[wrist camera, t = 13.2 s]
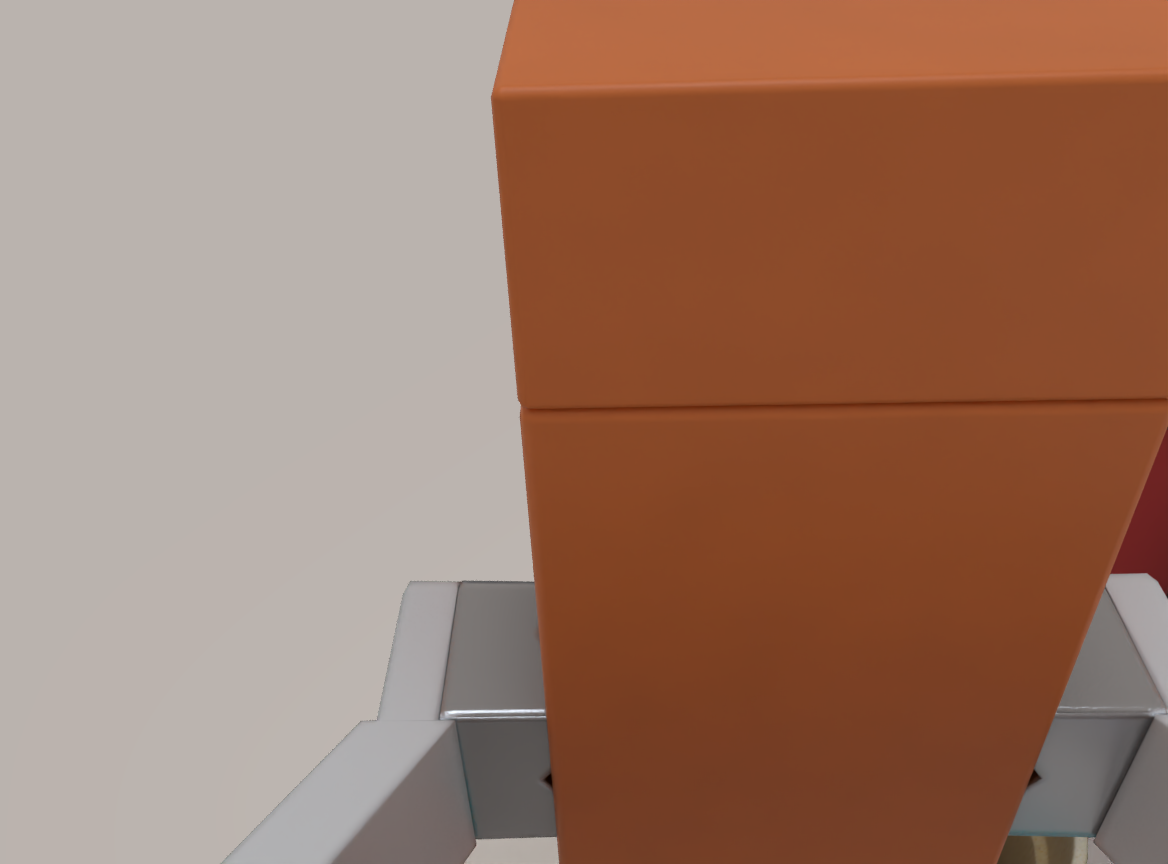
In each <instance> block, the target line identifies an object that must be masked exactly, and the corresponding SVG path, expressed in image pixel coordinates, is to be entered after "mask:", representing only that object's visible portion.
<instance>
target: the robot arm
mask: <svg viewBox="0 0 1168 864" xmlns="http://www.w3.org/2000/svg"><path fill="white" fill-rule="evenodd" d="M1008 835H1009V836H1052V837H1095V840H1094V843H1095V844H1096V845H1097V846H1098V847H1099V848H1100V849H1101V850H1102V851H1103V853H1104V854H1105V855H1106V856H1107V857H1108V858H1109V859H1110V860H1111V861H1112V862H1113V863H1114V864H1168V598H1167V597H1166V595H1165V593H1164V592H1163V590H1162V588H1161V586H1160V585H1159V583H1158V581H1156V580H1155V579H1154V578H1152V577H1151V576H1150V575H1148V574H1147V573H1138V574H1110V576H1109V578H1108V581H1107V583H1106V586H1105V588H1104V591H1103V593H1102V596H1101V599H1100V601H1099V604H1098V606H1097V609H1096V611H1095V614H1094V616H1093V619H1092V622H1091V624H1090V627H1089V629H1088V632H1087V634H1086V637H1085V639H1084V642H1083V645H1082V647H1081V650H1080V652H1079V655H1078V657H1077V660H1076V662H1075V665H1074V668H1073V670H1072V673H1071V675H1070V678H1069V680H1068V683H1067V685H1066V688H1065V691H1064V693H1063V696H1062V698H1061V701H1060V703H1059V706H1058V708H1057V711H1056V714H1055V716H1054V719H1053V721H1052V724H1051V726H1050V729H1049V731H1048V734H1047V737H1046V739H1045V742H1044V744H1043V747H1042V749H1041V752H1040V754H1039V757H1038V760H1037V762H1036V765H1035V767H1034V770H1033V772H1032V775H1031V777H1030V780H1029V783H1028V785H1027V788H1026V790H1025V793H1024V795H1023V798H1022V800H1021V803H1020V806H1019V808H1018V811H1017V813H1016V816H1015V818H1014V821H1013V823H1012V826H1011V829H1010V831H1009V834H1008ZM534 837H557V831H556V820H555V808H554V797H553V786H552V774H551V763H550V752H549V740H548V729H547V718H546V706H545V695H544V684H543V672H542V661H541V650H540V639H539V627H538V616H537V605H536V593H535V582H518V581H462V582H451V581H447V582H446V581H410V582H409V584H408V586H407V588H406V590H405V591H404V593H403V597H402V601H401V606H400V611H399V616H398V620H397V625H396V630H395V635H394V640H393V644H392V649H391V654H390V659H389V663H388V668H387V673H386V678H385V683H384V687H383V692H382V697H381V702H380V707H379V711H378V716H377V720H372V721H371V720H369V721H360V722H359V723H358V725H356V727H354V728H353V729H352V730H351V732H350V733H349V734H348V735H347V736H346V737H345V738H344V739H343V740H342V741H341V742H340V743H339V744H338V745H337V746H336V747H335V748H334V749H333V750H332V751H331V752H330V753H329V754H328V755H327V756H326V757H325V758H324V759H323V760H322V761H321V762H320V763H319V764H318V765H317V766H316V767H315V768H314V769H313V770H312V771H311V772H310V773H309V774H308V775H307V776H306V777H305V778H304V779H303V780H302V781H301V782H300V783H299V785H297V786H296V787H295V789H293V790H292V791H291V793H289V794H288V795H287V797H286V798H285V799H284V800H283V801H282V802H281V803H280V804H279V805H278V806H277V807H276V808H275V809H274V810H273V811H272V812H271V813H270V814H269V815H268V816H267V817H266V818H265V819H264V820H263V821H262V822H261V823H260V824H259V825H258V826H257V827H256V828H255V829H254V830H253V831H252V832H251V833H250V834H249V835H248V836H247V837H246V838H245V839H244V840H243V841H242V842H241V843H240V844H239V845H238V846H237V847H236V848H235V849H234V850H233V851H232V853H230V854H229V855H228V856H227V857H226V859H225V860H224V861H223V862H222V863H221V864H464V862H465V861H466V859H467V858H468V857H469V855H470V854H471V852H472V851H473V849H474V848H475V846H476V840H475V839H502V838H534Z"/></svg>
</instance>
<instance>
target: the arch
mask: <svg viewBox="0 0 1168 864" xmlns="http://www.w3.org/2000/svg"><path fill="white" fill-rule="evenodd" d="M491 101H492V114H493V125H494V135H495V147H496V159H497V170H498V181H499V193H500V203H501V215H502V226H503V238H504V249H505V260H506V270H507V282H508V294H509V305H510V316H511V327H512V338H513V350H514V362H515V372H516V383H517V395H518V400H519V402H520V404H521V410H520V423H521V435H522V446H523V457H524V469H525V479H526V491H527V503H528V514H529V525H530V537H531V547H532V559H533V570H534V580H535V581H534V582H535V593H536V605H537V616H538V627H539V639H540V650H541V661H542V672H543V684H544V695H545V706H546V718H547V729H548V740H549V752H550V763H551V774H552V786H553V797H554V808H555V820H556V831H557V842H558V854H559V864H997V862H998V859H999V857H1000V854H1001V852H1002V849H1003V846H1004V844H1005V841H1006V839H1007V836H1008V834H1009V831H1010V829H1011V826H1012V823H1013V821H1014V818H1015V816H1016V813H1017V811H1018V808H1019V806H1020V803H1021V800H1022V798H1023V795H1024V793H1025V790H1026V788H1027V785H1028V783H1029V780H1030V777H1031V775H1032V772H1033V770H1034V767H1035V765H1036V762H1037V760H1038V757H1039V754H1040V752H1041V749H1042V747H1043V744H1044V742H1045V739H1046V737H1047V734H1048V731H1049V729H1050V726H1051V724H1052V721H1053V719H1054V716H1055V714H1056V711H1057V708H1058V706H1059V703H1060V701H1061V698H1062V696H1063V693H1064V691H1065V688H1066V685H1067V683H1068V680H1069V678H1070V675H1071V673H1072V670H1073V668H1074V665H1075V662H1076V660H1077V657H1078V655H1079V652H1080V650H1081V647H1082V645H1083V642H1084V639H1085V637H1086V634H1087V632H1088V629H1089V627H1090V624H1091V622H1092V619H1093V616H1094V614H1095V611H1096V609H1097V606H1098V604H1099V601H1100V599H1101V596H1102V593H1103V591H1104V588H1105V586H1106V583H1107V581H1108V578H1109V576H1110V573H1111V570H1112V568H1113V565H1114V563H1115V560H1116V558H1117V555H1118V553H1119V550H1120V547H1121V545H1122V542H1123V540H1124V537H1125V535H1126V532H1127V530H1128V527H1129V524H1130V522H1131V519H1132V517H1133V514H1134V512H1135V509H1136V507H1137V504H1138V501H1139V499H1140V496H1141V494H1142V491H1143V489H1144V486H1145V484H1146V481H1147V478H1148V476H1149V473H1150V471H1151V468H1152V466H1153V463H1154V461H1155V458H1156V456H1157V453H1158V450H1159V448H1160V445H1161V443H1162V440H1163V438H1164V435H1165V433H1166V430H1167V427H1168V0H514V3H513V7H512V11H511V16H510V20H509V24H508V28H507V32H506V37H505V41H504V45H503V50H502V54H501V58H500V62H499V66H498V71H497V75H496V79H495V83H494V88H493V92H492V96H491Z"/></svg>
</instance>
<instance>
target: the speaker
mask: <svg viewBox="0 0 1168 864" xmlns="http://www.w3.org/2000/svg"><path fill="white" fill-rule="evenodd" d="M1138 573H1147V574H1148V575H1150V576H1151V577H1152V578H1154V579H1155V580H1156V581H1158V583H1159V585H1160V586H1161V588H1162V590H1163V592H1164V593H1165V595H1166V597H1167V598H1168V427H1167V430H1166V433H1165V435H1164V438H1163V440H1162V443H1161V445H1160V448H1159V450H1158V453H1157V456H1156V458H1155V461H1154V463H1153V466H1152V468H1151V471H1150V473H1149V476H1148V478H1147V481H1146V484H1145V486H1144V489H1143V491H1142V494H1141V496H1140V499H1139V501H1138V504H1137V507H1136V509H1135V512H1134V514H1133V517H1132V519H1131V522H1130V524H1129V527H1128V530H1127V532H1126V535H1125V537H1124V540H1123V542H1122V545H1121V547H1120V550H1119V553H1118V555H1117V558H1116V560H1115V563H1114V565H1113V568H1112V570H1111V573H1110V574H1138Z"/></svg>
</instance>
